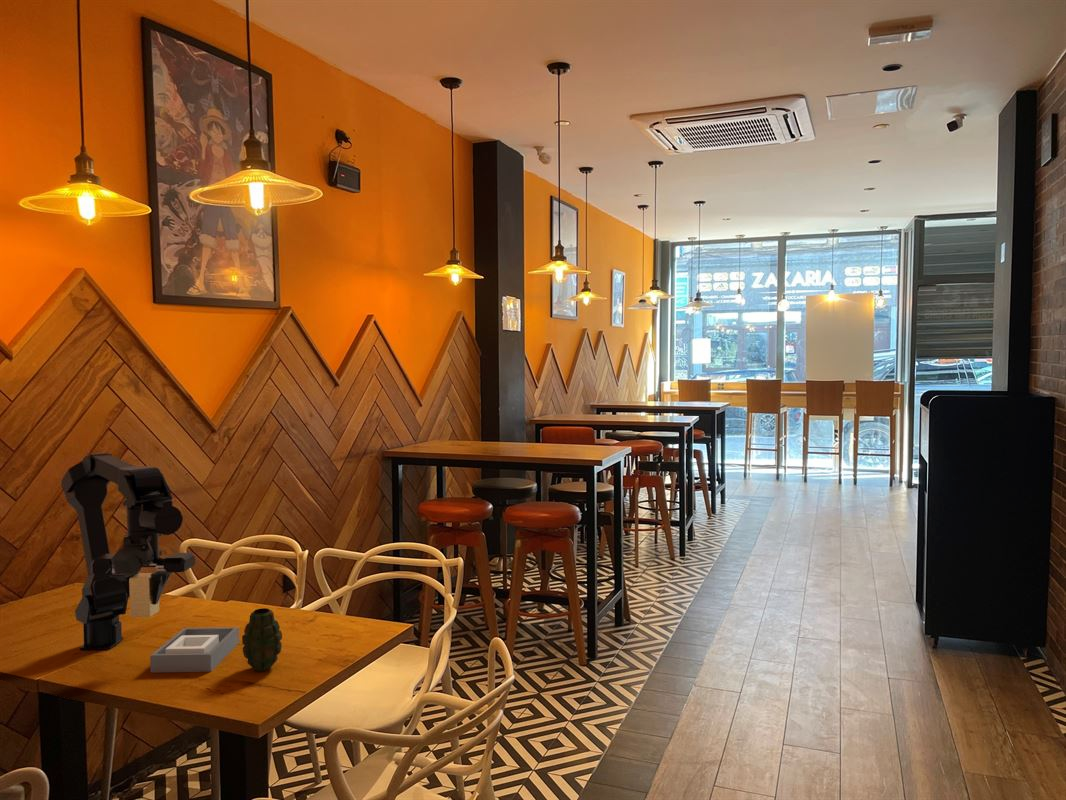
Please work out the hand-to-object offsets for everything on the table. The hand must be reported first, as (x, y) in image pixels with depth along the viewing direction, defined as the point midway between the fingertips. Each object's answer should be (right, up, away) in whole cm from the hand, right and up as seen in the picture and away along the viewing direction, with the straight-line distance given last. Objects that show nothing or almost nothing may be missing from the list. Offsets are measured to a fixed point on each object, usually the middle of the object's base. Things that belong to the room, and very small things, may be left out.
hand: (145, 604), depth 155 cm
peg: (0, -2, 0) cm, 2 cm away
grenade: (+25, -13, -2) cm, 28 cm away
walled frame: (+9, -13, +5) cm, 16 cm away
